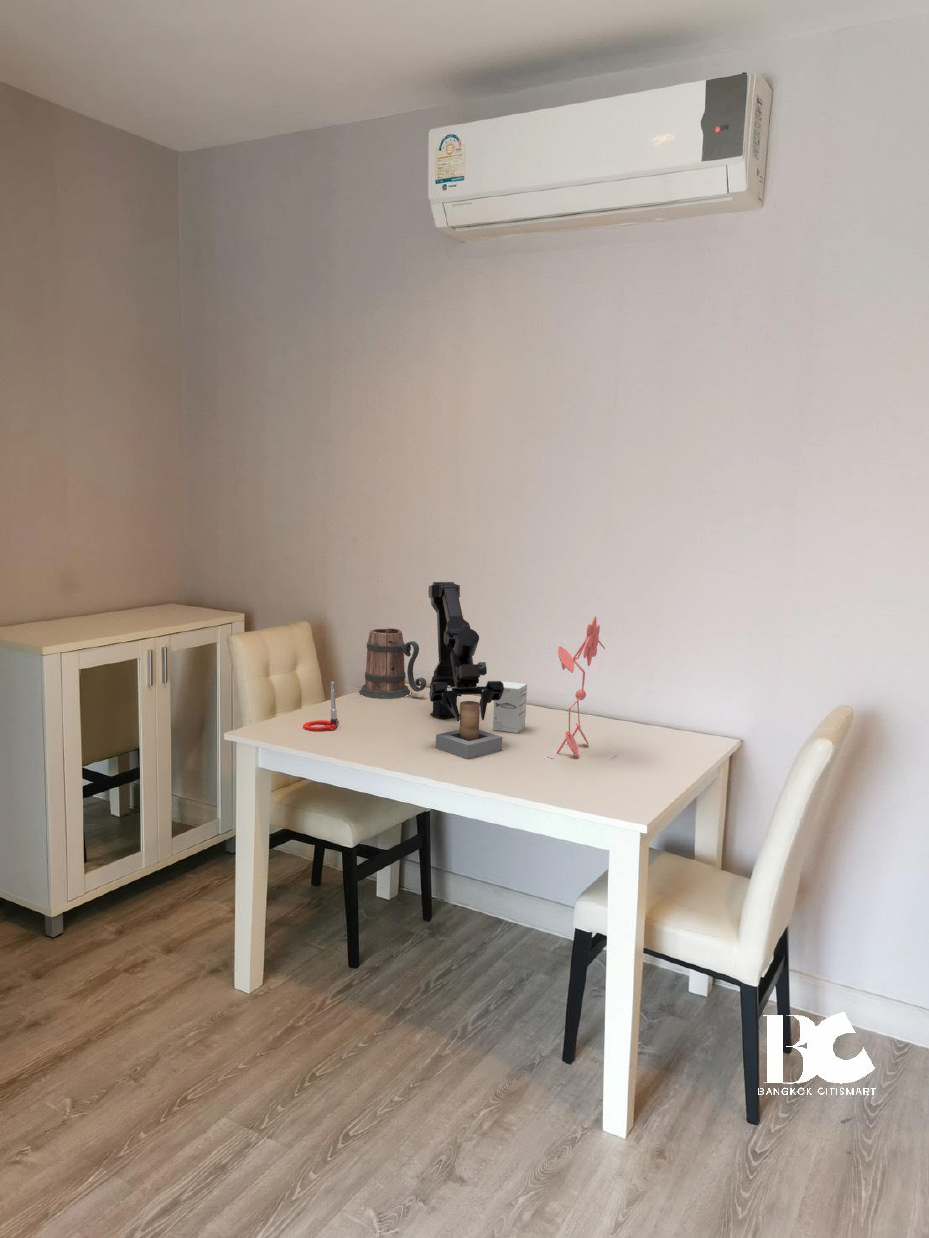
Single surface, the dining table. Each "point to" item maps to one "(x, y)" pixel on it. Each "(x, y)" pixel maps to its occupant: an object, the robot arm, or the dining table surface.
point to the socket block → (468, 744)
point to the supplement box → (510, 708)
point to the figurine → (569, 662)
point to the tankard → (389, 665)
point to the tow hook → (329, 724)
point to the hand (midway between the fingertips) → (470, 719)
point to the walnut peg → (469, 720)
